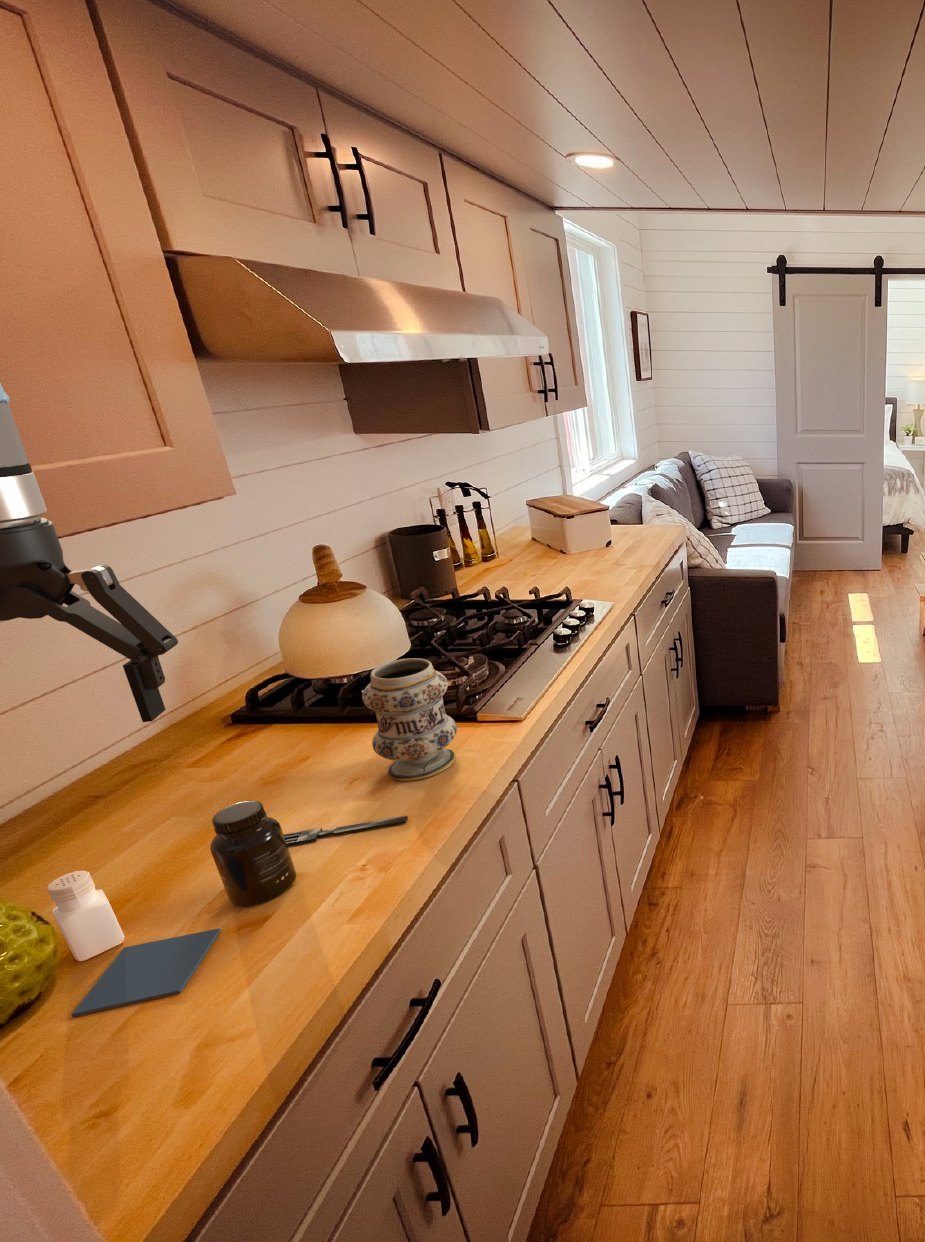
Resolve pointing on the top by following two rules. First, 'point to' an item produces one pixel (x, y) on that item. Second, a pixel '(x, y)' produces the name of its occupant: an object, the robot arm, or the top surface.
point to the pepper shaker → (84, 915)
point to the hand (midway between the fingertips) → (70, 725)
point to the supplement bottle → (251, 854)
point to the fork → (339, 830)
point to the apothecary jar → (411, 718)
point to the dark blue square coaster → (148, 972)
